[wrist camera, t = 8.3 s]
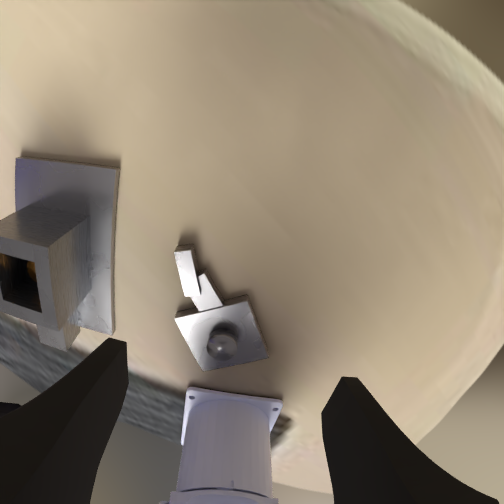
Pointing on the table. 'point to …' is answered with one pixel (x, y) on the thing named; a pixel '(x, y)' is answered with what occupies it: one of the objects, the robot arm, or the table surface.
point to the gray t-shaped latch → (216, 319)
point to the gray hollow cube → (44, 264)
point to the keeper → (101, 232)
